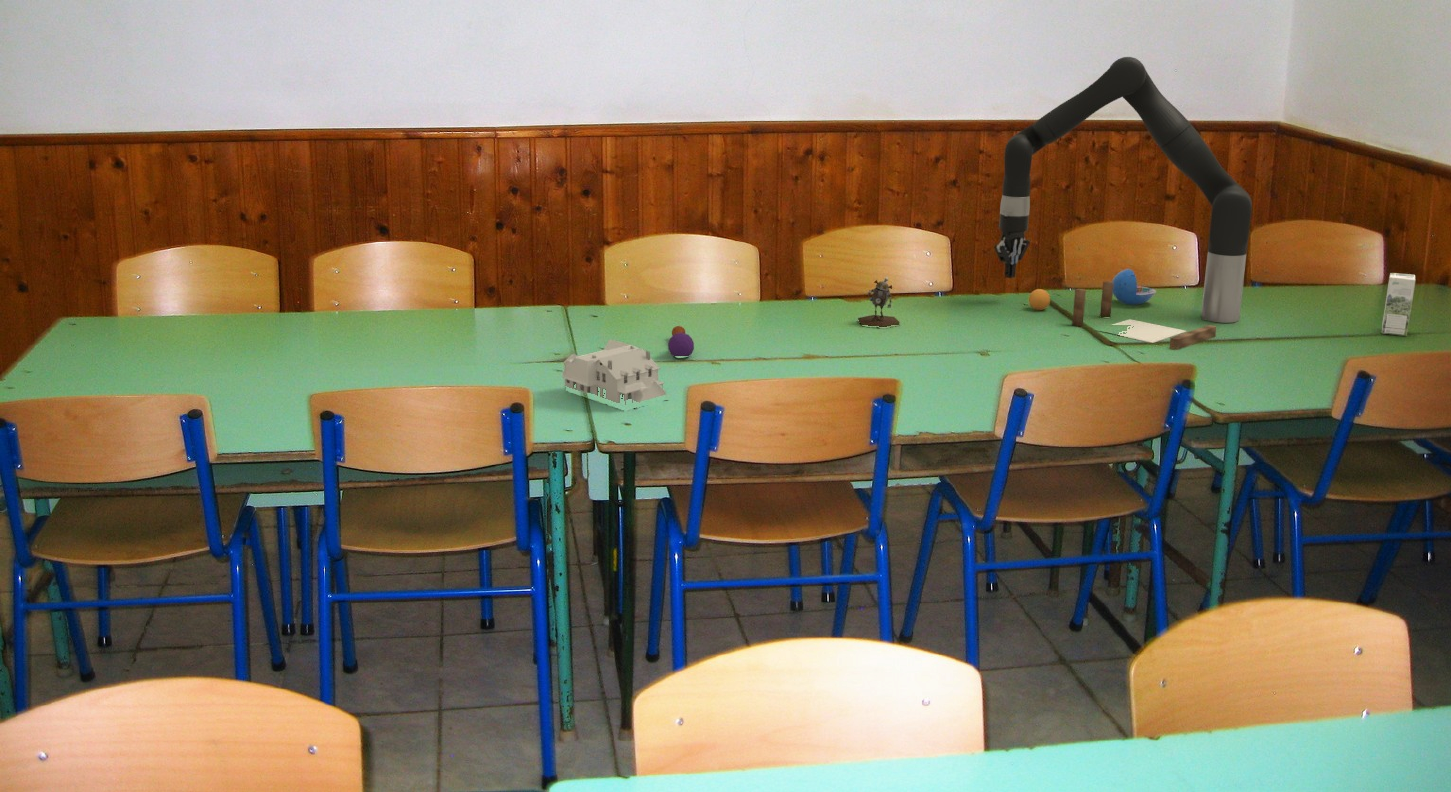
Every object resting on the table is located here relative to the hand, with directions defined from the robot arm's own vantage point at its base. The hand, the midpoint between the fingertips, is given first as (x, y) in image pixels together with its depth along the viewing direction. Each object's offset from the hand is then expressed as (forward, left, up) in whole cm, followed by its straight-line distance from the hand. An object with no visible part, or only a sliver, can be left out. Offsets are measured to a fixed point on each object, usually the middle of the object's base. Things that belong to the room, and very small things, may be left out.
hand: (1009, 277), depth 368 cm
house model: (+127, -6, -8) cm, 128 cm away
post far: (-6, +26, -7) cm, 27 cm away
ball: (0, +10, -4) cm, 11 cm away
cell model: (-24, +23, -7) cm, 34 cm away
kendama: (+95, -25, -8) cm, 98 cm away
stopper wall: (0, +54, -7) cm, 54 cm away
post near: (+6, +26, -7) cm, 27 cm away
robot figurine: (+42, -9, -7) cm, 44 cm away
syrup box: (-45, +83, -7) cm, 94 cm away
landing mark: (0, +40, -7) cm, 40 cm away
